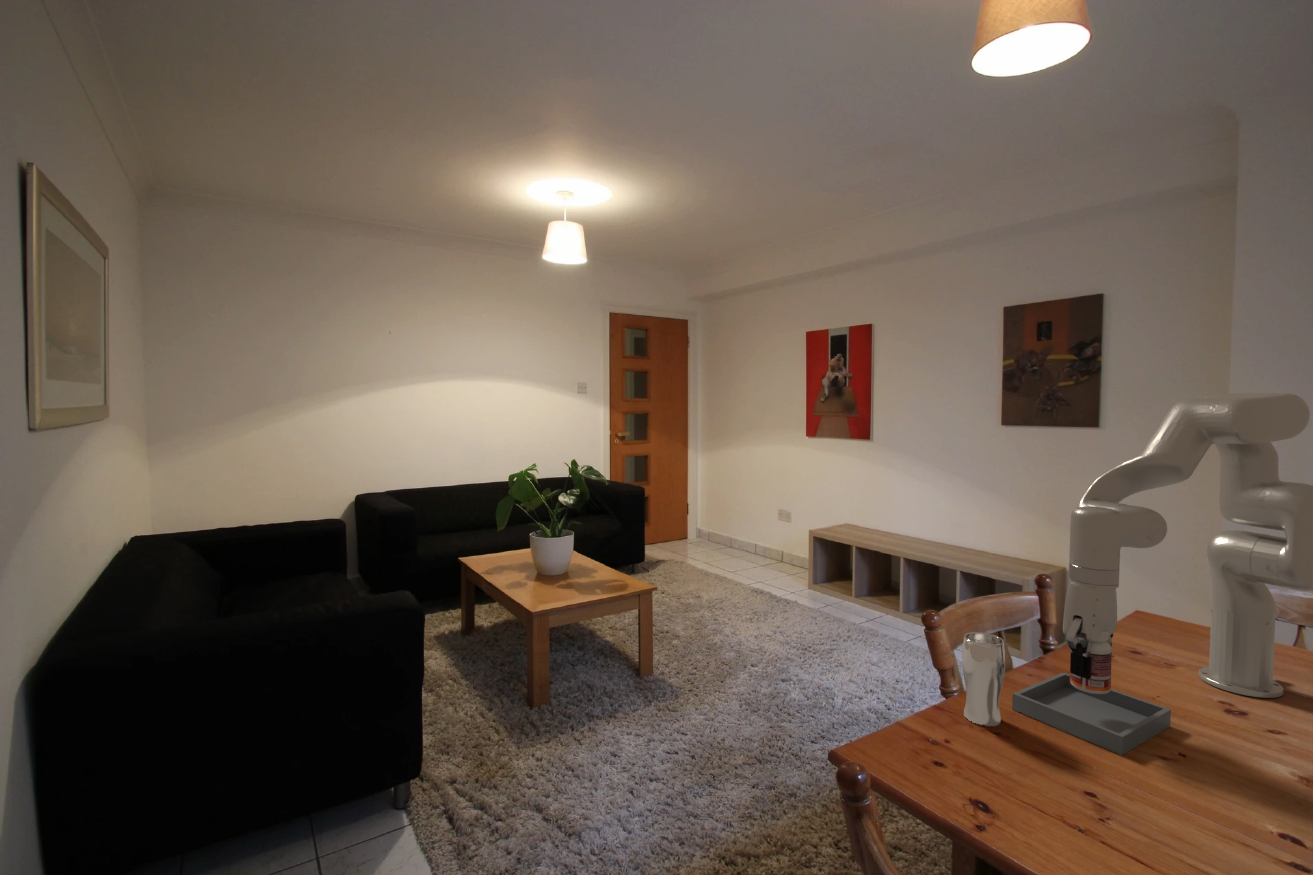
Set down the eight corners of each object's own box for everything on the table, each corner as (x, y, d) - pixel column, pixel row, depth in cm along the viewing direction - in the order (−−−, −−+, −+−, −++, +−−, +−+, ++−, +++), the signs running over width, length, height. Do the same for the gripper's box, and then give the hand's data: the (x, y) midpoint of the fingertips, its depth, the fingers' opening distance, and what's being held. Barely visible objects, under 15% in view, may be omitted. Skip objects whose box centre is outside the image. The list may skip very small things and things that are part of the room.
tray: (1062, 687, 126) (1063, 672, 126) (1170, 726, 111) (1170, 709, 111) (1012, 709, 117) (1012, 693, 117) (1121, 755, 102) (1122, 736, 102)
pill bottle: (1116, 689, 113) (1118, 628, 112) (1101, 698, 109) (1103, 635, 109) (1078, 677, 118) (1080, 619, 117) (1063, 685, 115) (1065, 625, 114)
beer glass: (1001, 713, 116) (1003, 634, 115) (1005, 731, 110) (1007, 648, 109) (960, 706, 119) (962, 629, 118) (961, 722, 112) (963, 642, 112)
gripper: (1094, 564, 120) (1091, 655, 121) (1046, 576, 112) (1043, 674, 113) (1140, 573, 114) (1136, 669, 115) (1092, 587, 105) (1088, 690, 106)
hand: (1090, 670), depth 114 cm, fingers closed on pill bottle, 6 cm apart
